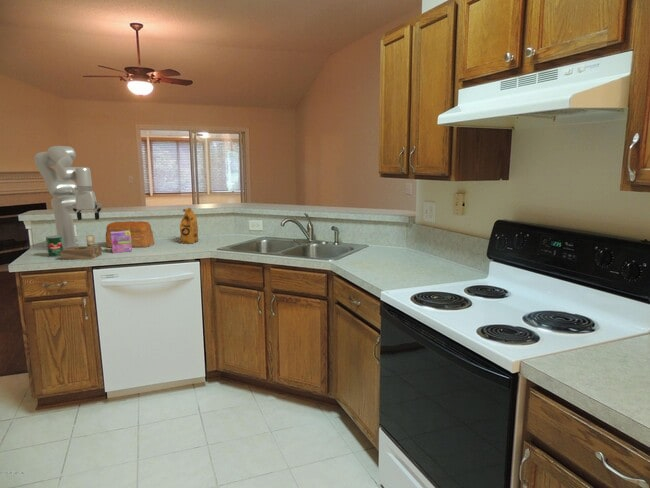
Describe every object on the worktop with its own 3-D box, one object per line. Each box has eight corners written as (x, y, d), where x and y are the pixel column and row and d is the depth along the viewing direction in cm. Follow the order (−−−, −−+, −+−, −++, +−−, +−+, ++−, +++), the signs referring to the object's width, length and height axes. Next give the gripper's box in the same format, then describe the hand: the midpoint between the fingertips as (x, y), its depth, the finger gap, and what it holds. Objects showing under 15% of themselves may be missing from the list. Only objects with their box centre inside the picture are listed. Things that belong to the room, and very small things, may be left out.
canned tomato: (59, 253, 260) (57, 234, 258) (67, 255, 256) (65, 235, 254) (45, 256, 253) (42, 237, 251) (53, 257, 249) (50, 238, 247)
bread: (147, 247, 276) (145, 223, 273) (103, 248, 276) (101, 223, 273) (156, 243, 289) (154, 220, 287) (114, 243, 290) (112, 220, 287)
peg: (90, 252, 263) (88, 235, 261) (97, 252, 263) (95, 235, 261) (86, 253, 259) (84, 236, 257) (93, 253, 259) (92, 236, 257)
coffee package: (178, 243, 286) (175, 209, 282) (186, 240, 298) (183, 207, 294) (193, 244, 285) (191, 209, 281) (200, 240, 297) (198, 207, 293)
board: (73, 255, 255) (72, 246, 254) (101, 254, 256) (100, 246, 255) (61, 259, 244) (60, 250, 243) (91, 259, 244) (90, 250, 243)
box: (112, 253, 259) (110, 233, 257) (112, 251, 264) (110, 231, 262) (132, 251, 264) (130, 231, 262) (131, 249, 269) (129, 230, 267)
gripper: (65, 190, 250) (69, 221, 253) (97, 189, 251) (100, 220, 254) (73, 189, 258) (76, 219, 261) (103, 188, 258) (106, 218, 261)
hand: (88, 219), depth 257 cm, fingers open, 9 cm apart
